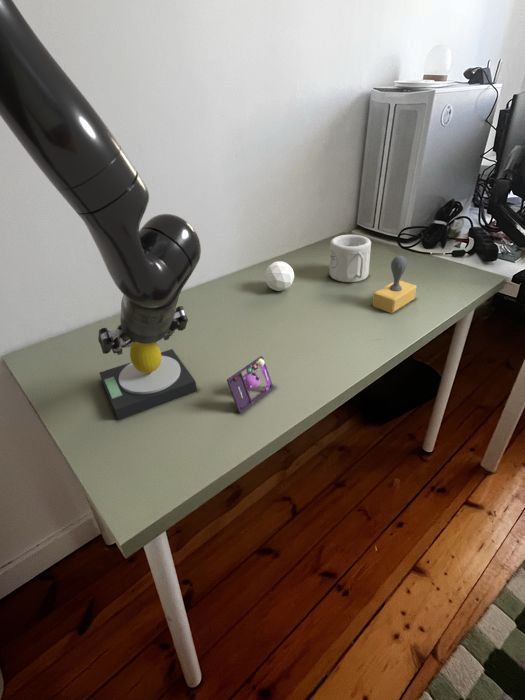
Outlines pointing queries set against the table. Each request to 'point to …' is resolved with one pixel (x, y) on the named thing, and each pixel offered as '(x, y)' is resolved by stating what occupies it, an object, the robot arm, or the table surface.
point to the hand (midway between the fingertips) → (141, 342)
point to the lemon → (145, 357)
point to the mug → (349, 258)
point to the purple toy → (248, 384)
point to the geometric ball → (279, 276)
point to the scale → (147, 385)
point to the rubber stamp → (395, 289)
